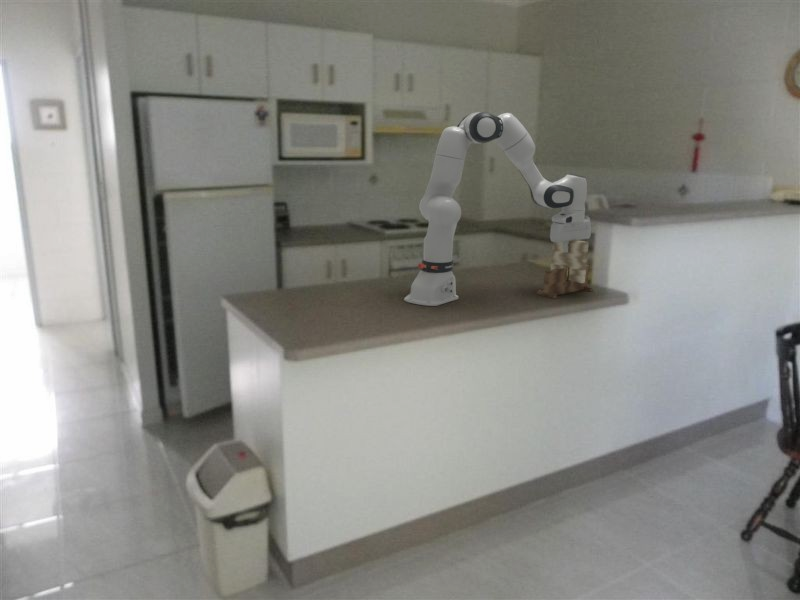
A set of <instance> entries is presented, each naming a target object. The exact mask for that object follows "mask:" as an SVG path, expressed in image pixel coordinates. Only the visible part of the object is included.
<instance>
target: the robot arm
mask: <svg viewBox="0 0 800 600" xmlns="http://www.w3.org/2000/svg"><path fill="white" fill-rule="evenodd" d="M493 141H495V142H496V143H497V144H498V145H499V147H500V148H501V150H502V151H503V152H504V154H505V155H506V157H507V158H508V159H509V160H510V161H511V163H512V164H513V165H515V167H516V168H517V170H518V172H519V173H520V174H521V176H522V178H523V179H524V181H525V183H526V184H527V186H528V188H529V191H530V197H531V200H532V201H533V203H534V204H535V205H537V206H539V207H544V208H545V207H546V208H547V209H548V208H549V209H552V210H553V209H561V211H559V212H557V213H556V214H554V215H552V217H551V222H552V223H551V224H550V233H549V238H550V241H551V242H552V243H553V242H562V244H563V247H564V252H569V251H570V248H569V247H568V244H569V241H572V240H580V241H582V240H588V239H590V238H591V235H592V224H591V218H590V217H589V215H586V214H585V213H586V205H585V203H586V201H587V195H588V183H587V179H586V178H585V176H582V175H578V174H575V173H574V174H572V173H567V174H566V175H565V176H564V177H562V178H560V179H558V180H556V181H549V180H547V179H545V178H544V176H543V175H542V174H541V172H540V170H539V169H538V167H537V166H536V164H535V162H534V159H533V157H534V155H535V152H536V144H535V142H534V140H533V138H532V137H531V135H530V133H529V132H528V130H527V129H526V128H525V126H524V125H523V124H522V123H521V121H520V120H519V119H518V118H517V117H516V116H515V115H513V113H511V112H505V113H504V112H502V113H501V114H498V115H495V114H493V113H490V112H486V111H475V112H472V113H469V114H467V115H465V116H464V117H463V118H462V119H461V120H460V122H459V123H458V124H457V126H456V125H453V126H447V127H445V128H444V129H443V130H442V133H441V135H440V138H439V140H438V143H437V146H436V150H435V155H434V158H433V164H432V165H433V166H432V170H431V174H430V178H429V181H428V183H427V186H426V189H425V192H424V194H423V197H422V198H421V199H420V202H419V205H418V208H419V211H420V214H421V216H422V217H423V219H425V220H427V221H428V225H427V230H426V235H425V236H424V239H423V258H422V260H421V262H418V263H417V268H418V269H420V271H419V273H418V274H417V276H416V277H415V279H414V280H413V282H412V283H411V286H410V293H409V294H407V295H406V296H405V297H403V298H404V299H403V301H404V302H406V303H409V304H414V305H419V306H420V305H421V306H426V307H427V306H429V307H437V306H440V305H445V304H446V303H450V302H453V301H456V300H459V299H460V298H459V295H457V291H456V290H457V288H456V287H457V286H456V284H457V282H456V276H455V275H454V273H453V269H454V260H453V251H454V250H453V247H454V237H455V233H456V229H457V225H458V222H459V221H460V220H461V216H462V207H461V206H460V204H459V203H458V202H457V201H456V200H455V199H454V198H453V195H454V194H455V191H456V189H457V187H458V186H459V184H460V182H461V180H462V176H463V175H462V174H463V170H464V167H465V160H466V155H467V151H468V149H469V147H470V146H471V144H477V145H478V144H479V145H480V144H487V143H489V142H493Z"/></svg>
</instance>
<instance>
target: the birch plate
mask: <svg viewBox="0 0 800 600" xmlns="http://www.w3.org/2000/svg"><path fill="white" fill-rule="evenodd" d="M589 243H590V242H589V241H585V240H572V241H569V244H568V247H569V248H570V251H569V252H564V247H563V244H562V242H552V248H551V249H552V250H551V262H550V270H555V269H561V268H564V269H567V268H568V267H569V268H570V269H569V280H571V281H575V282H578V283H585V276H586V266H587V265H588V254H589Z"/></svg>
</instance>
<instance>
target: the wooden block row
mask: <svg viewBox="0 0 800 600" xmlns="http://www.w3.org/2000/svg"><path fill="white" fill-rule="evenodd" d="M567 268H568V269H567ZM567 268H566V269H564V268H561V269H555V270H551V269H549V270H544V278H543V289H538V290H537V292H536V294H537V295H538V296H539V295H540V296H543V297H545V298H549V299H552V300H554V299H557V296H558V295H563V294H569V293H574V292H579V291H587V292H593V291H594V287H593V286H590V285H588V284H589V275H590V265H589V264H587V266H586V276H585V283H578V282H575V281H571V280H569V269H570V268H569V267H567Z"/></svg>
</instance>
